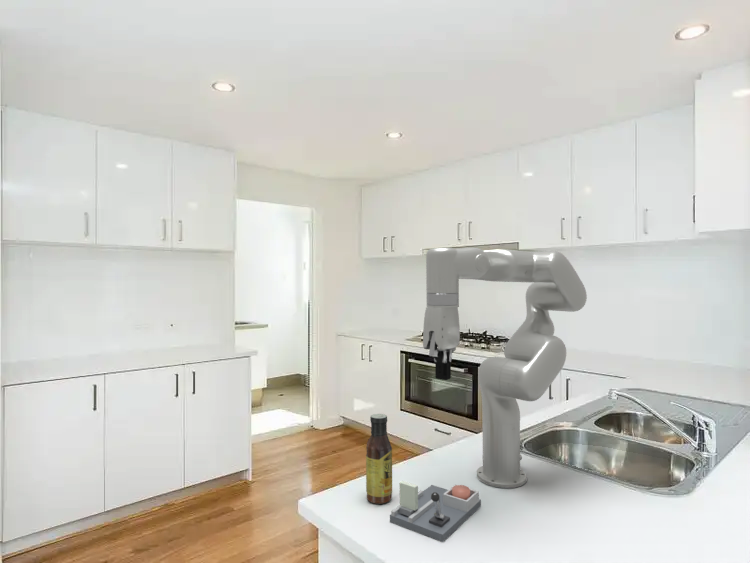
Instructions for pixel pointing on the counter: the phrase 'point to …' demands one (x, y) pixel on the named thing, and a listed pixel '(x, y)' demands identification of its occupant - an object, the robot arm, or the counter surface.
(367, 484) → the sauce bottle
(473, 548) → the counter surface
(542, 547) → the counter surface
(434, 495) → the toggle
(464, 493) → the button
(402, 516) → the panel
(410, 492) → the pale green block
